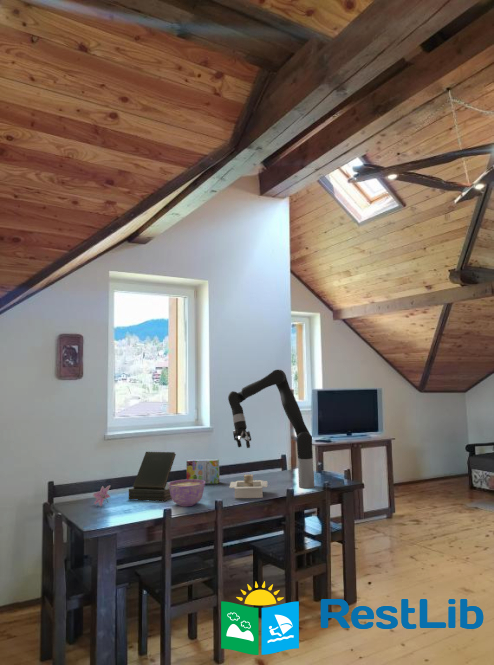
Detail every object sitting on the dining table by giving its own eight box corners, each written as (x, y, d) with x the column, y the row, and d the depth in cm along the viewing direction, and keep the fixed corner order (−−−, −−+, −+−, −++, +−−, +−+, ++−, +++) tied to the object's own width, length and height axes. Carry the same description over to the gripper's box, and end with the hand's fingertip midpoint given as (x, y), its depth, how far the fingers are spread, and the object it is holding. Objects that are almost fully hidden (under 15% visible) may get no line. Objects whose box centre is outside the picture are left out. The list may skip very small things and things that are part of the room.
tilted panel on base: (128, 500, 272) (128, 455, 275) (146, 492, 290) (146, 451, 293) (164, 502, 265) (164, 456, 267) (180, 494, 283) (179, 451, 286)
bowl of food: (160, 505, 255) (160, 483, 256) (188, 498, 270) (188, 477, 271) (185, 511, 242) (185, 488, 243) (213, 503, 257) (213, 481, 258)
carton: (267, 490, 286) (267, 480, 286) (268, 498, 264) (267, 487, 265) (231, 491, 286) (231, 481, 287) (229, 499, 265) (229, 488, 265)
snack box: (219, 482, 315) (219, 458, 317) (218, 483, 310) (217, 460, 311) (188, 482, 317) (187, 459, 319) (186, 484, 312) (186, 460, 314)
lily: (92, 504, 268) (87, 490, 264) (112, 493, 273) (107, 480, 269) (98, 515, 258) (93, 501, 254) (119, 503, 263) (113, 490, 260)
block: (253, 493, 278) (252, 474, 279) (253, 495, 273) (252, 476, 274) (244, 494, 278) (244, 474, 279) (244, 496, 273) (244, 476, 274)
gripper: (236, 419, 295) (241, 445, 288) (251, 421, 305) (255, 446, 298) (227, 423, 298) (232, 448, 292) (242, 424, 309) (246, 449, 302)
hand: (244, 447), depth 295 cm, fingers open, 8 cm apart
